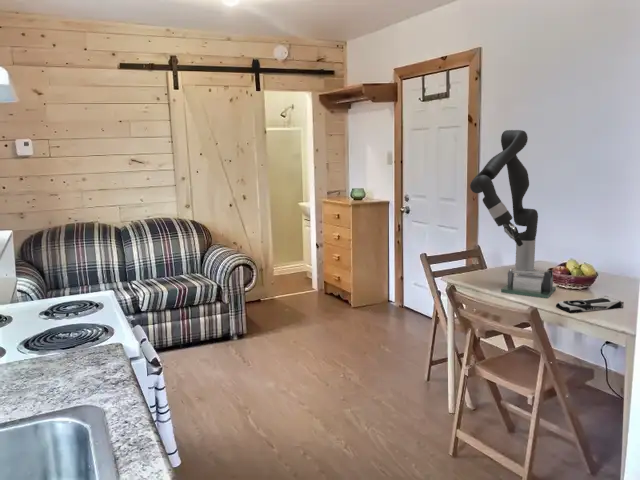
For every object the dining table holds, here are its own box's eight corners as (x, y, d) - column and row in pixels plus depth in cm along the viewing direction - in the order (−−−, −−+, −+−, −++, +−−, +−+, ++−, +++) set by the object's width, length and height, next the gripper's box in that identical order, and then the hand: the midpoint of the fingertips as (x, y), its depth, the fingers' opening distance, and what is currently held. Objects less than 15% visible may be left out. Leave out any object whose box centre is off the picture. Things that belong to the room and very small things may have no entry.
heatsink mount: (501, 292, 246) (501, 270, 244) (510, 284, 259) (511, 264, 257) (547, 298, 235) (548, 275, 233) (555, 289, 248) (556, 268, 246)
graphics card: (624, 301, 219) (569, 306, 213) (623, 309, 219) (569, 314, 214) (605, 294, 228) (553, 299, 223) (605, 302, 229) (553, 307, 223)
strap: (508, 273, 249) (508, 269, 249) (510, 272, 251) (510, 268, 251) (547, 274, 240) (547, 271, 239) (548, 273, 242) (548, 270, 241)
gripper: (511, 208, 244) (532, 240, 243) (503, 210, 257) (523, 241, 256) (496, 217, 244) (518, 249, 244) (489, 218, 258) (509, 249, 257)
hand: (520, 245), depth 250 cm, fingers closed
